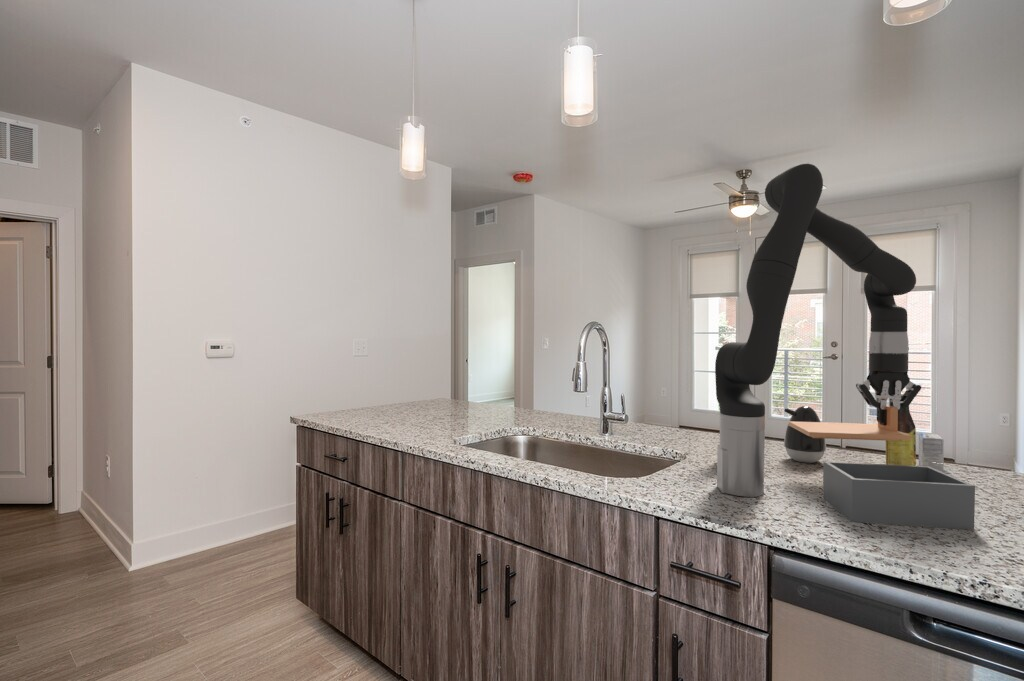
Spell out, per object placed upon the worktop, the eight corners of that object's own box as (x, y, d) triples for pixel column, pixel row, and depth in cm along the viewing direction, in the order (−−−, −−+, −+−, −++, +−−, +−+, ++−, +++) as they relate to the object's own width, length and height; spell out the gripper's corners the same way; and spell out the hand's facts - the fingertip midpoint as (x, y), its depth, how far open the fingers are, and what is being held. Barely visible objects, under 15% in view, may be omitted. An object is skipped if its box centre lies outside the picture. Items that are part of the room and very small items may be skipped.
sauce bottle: (921, 476, 131) (922, 396, 131) (892, 474, 132) (894, 395, 132) (906, 469, 137) (908, 393, 137) (880, 468, 139) (881, 392, 138)
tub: (851, 521, 99) (852, 479, 99) (822, 498, 113) (823, 461, 112) (974, 530, 95) (975, 485, 95) (928, 505, 109) (929, 466, 109)
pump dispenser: (778, 455, 152) (779, 403, 152) (817, 457, 150) (818, 404, 150) (789, 464, 142) (790, 408, 142) (831, 466, 140) (832, 409, 140)
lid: (809, 439, 120) (809, 408, 120) (788, 427, 134) (788, 399, 134) (910, 442, 116) (911, 410, 116) (878, 430, 130) (878, 401, 130)
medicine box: (943, 473, 134) (944, 439, 134) (921, 470, 136) (922, 437, 136) (938, 466, 141) (939, 434, 141) (917, 464, 143) (918, 432, 143)
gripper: (912, 350, 126) (911, 423, 126) (849, 350, 128) (848, 421, 128) (930, 352, 118) (929, 429, 119) (863, 351, 121) (862, 427, 121)
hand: (887, 424), depth 124 cm, fingers closed on lid, 1 cm apart
